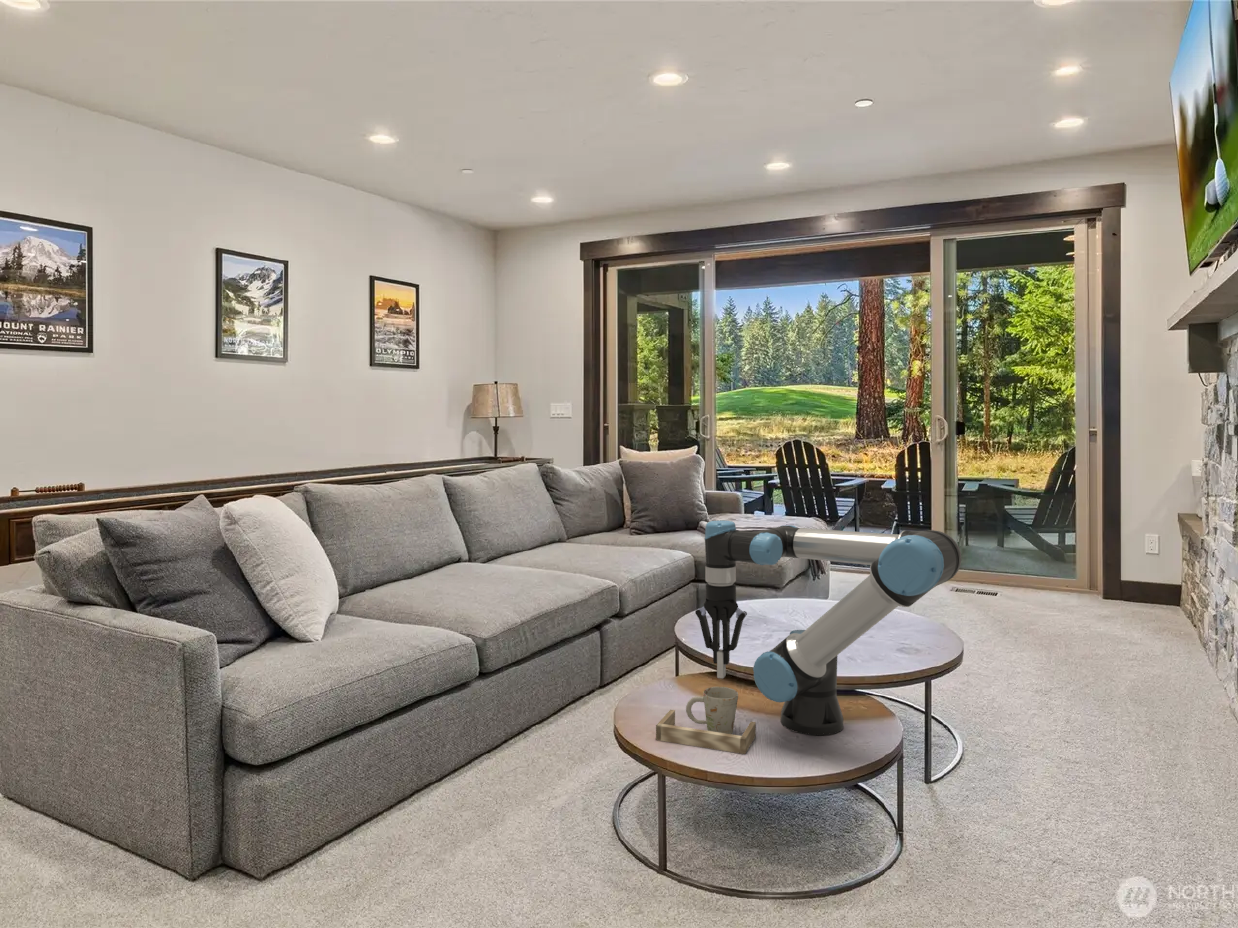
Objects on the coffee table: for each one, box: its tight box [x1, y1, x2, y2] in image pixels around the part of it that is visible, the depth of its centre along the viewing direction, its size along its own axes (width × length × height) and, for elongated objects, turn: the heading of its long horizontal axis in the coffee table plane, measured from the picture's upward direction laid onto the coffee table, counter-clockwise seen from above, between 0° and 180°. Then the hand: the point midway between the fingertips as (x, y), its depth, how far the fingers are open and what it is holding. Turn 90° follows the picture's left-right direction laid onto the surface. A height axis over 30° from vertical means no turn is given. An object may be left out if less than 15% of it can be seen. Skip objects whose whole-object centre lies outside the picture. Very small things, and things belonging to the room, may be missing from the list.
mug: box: [685, 686, 739, 735], centre depth 196 cm, size 8×13×10 cm, turn 77°
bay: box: [655, 709, 757, 755], centre depth 193 cm, size 21×11×4 cm, turn 68°
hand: (721, 676), depth 203 cm, fingers closed
